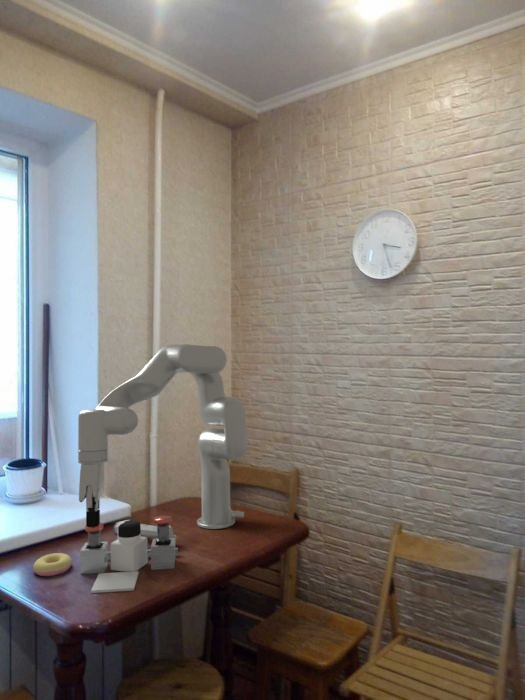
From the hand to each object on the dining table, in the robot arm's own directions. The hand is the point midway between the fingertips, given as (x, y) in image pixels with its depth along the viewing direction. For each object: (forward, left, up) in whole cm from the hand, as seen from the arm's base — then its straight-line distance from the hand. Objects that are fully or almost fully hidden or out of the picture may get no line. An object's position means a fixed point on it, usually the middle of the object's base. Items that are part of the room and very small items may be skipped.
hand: (93, 525), depth 142 cm
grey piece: (-11, -20, -12) cm, 26 cm away
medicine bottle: (-9, 0, -12) cm, 15 cm away
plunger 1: (0, 0, -8) cm, 8 cm away
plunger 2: (-18, 0, -7) cm, 20 cm away
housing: (-9, -2, -12) cm, 15 cm away
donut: (+11, -1, -12) cm, 16 cm away
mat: (-7, +10, -12) cm, 17 cm away
